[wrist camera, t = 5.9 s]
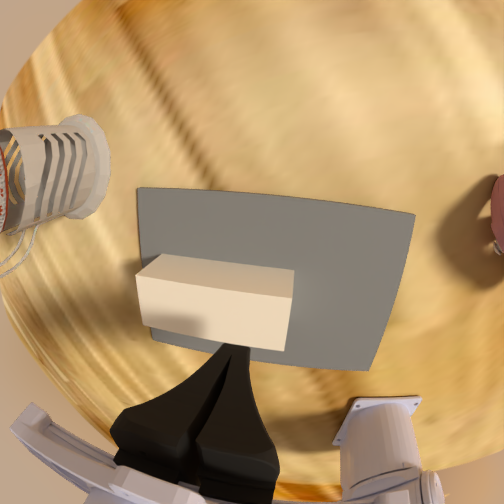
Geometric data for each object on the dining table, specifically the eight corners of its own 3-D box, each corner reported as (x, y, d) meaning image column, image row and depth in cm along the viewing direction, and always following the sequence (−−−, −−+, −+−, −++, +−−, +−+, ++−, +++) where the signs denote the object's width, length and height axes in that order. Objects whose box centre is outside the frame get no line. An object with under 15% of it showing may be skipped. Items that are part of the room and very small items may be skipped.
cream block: (283, 351, 17) (143, 324, 18) (287, 317, 21) (165, 298, 22) (292, 298, 15) (135, 274, 17) (294, 270, 19) (162, 253, 20)
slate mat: (367, 368, 22) (368, 371, 21) (154, 337, 24) (152, 340, 24) (413, 213, 17) (415, 215, 16) (140, 187, 19) (137, 188, 19)
